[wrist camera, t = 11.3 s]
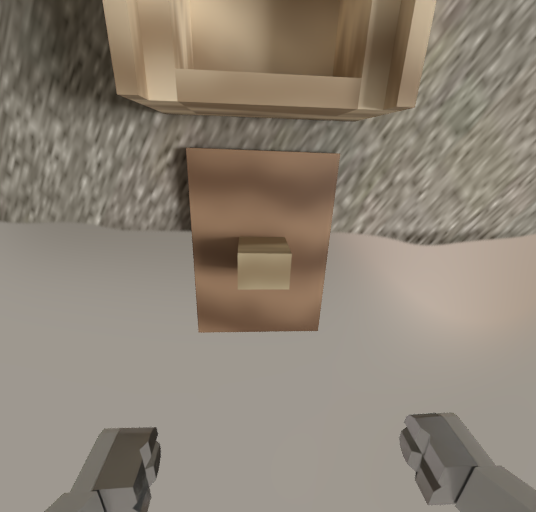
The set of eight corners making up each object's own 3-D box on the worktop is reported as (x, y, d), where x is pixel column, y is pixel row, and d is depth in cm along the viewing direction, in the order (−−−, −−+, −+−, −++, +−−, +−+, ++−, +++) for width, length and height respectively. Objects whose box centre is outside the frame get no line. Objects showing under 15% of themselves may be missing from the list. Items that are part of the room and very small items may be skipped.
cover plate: (191, 147, 23) (172, 147, 17) (332, 153, 24) (359, 155, 18) (201, 320, 29) (191, 361, 23) (313, 319, 30) (328, 358, 24)
